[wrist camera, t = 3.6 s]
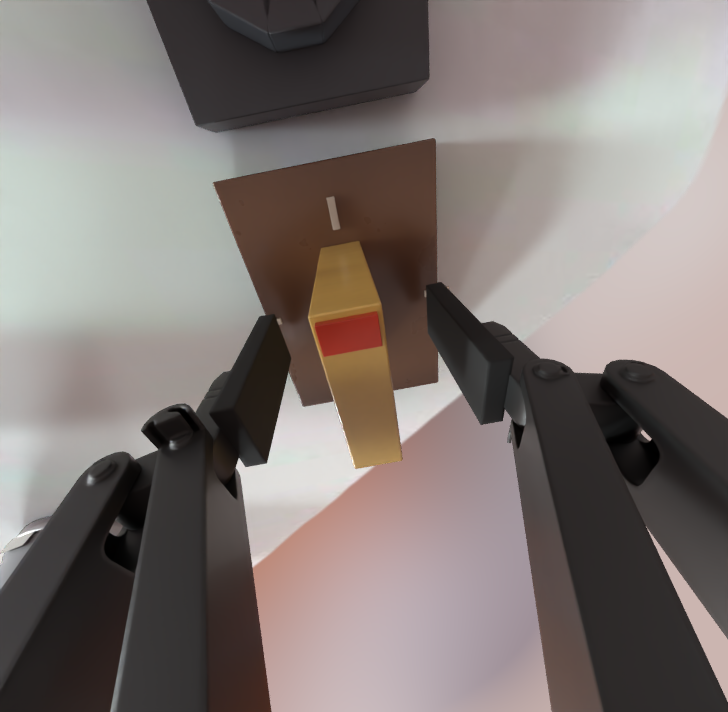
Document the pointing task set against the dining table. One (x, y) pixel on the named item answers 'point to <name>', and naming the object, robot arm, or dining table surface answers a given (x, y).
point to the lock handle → (355, 354)
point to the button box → (290, 55)
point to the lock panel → (339, 226)
